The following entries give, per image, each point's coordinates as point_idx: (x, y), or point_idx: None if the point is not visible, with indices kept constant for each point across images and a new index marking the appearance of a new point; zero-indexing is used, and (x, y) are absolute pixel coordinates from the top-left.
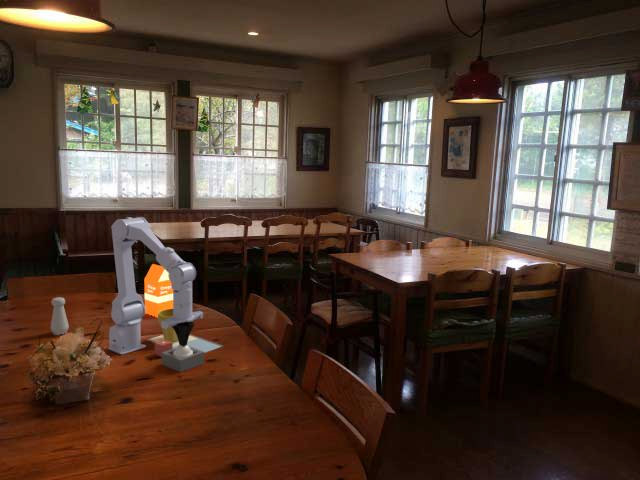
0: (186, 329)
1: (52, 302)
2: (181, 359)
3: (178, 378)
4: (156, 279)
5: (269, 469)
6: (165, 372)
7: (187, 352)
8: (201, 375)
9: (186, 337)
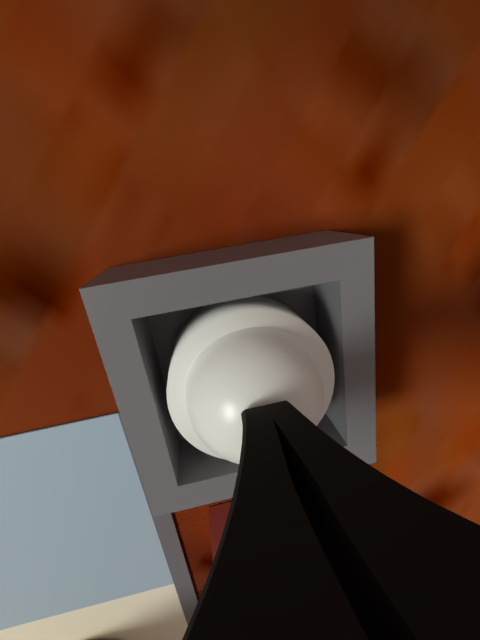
0: (428, 608)
1: None
2: (357, 252)
3: (396, 144)
4: None
5: None
6: (390, 292)
7: (253, 334)
8: (246, 61)
9: (285, 467)
